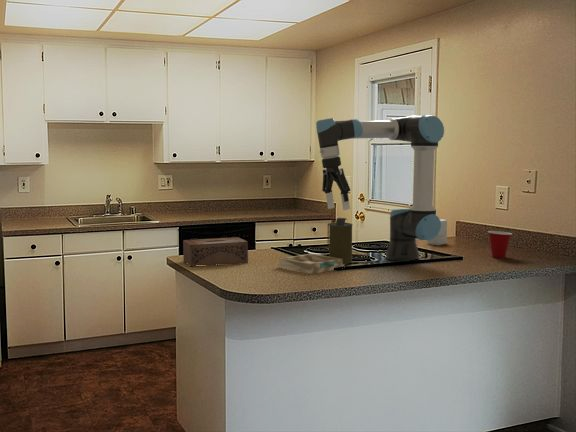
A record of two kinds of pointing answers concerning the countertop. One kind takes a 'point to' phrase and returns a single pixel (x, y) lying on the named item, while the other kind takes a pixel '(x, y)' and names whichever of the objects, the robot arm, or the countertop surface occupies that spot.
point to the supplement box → (440, 235)
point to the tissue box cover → (215, 251)
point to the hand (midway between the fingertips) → (338, 209)
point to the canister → (340, 240)
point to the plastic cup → (499, 243)
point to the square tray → (310, 263)
